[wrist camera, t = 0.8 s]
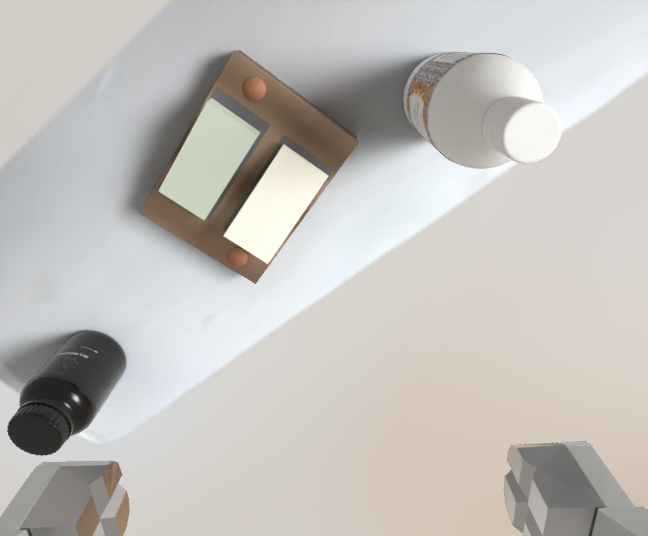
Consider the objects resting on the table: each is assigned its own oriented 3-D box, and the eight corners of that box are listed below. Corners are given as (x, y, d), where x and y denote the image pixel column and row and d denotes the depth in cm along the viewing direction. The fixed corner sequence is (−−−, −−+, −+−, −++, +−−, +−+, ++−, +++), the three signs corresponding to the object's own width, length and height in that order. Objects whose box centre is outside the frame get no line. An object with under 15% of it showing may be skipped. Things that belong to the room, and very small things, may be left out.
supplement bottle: (98, 318, 51) (36, 392, 40) (141, 364, 53) (92, 446, 42) (50, 346, 52) (-23, 425, 41) (94, 390, 55) (35, 475, 44)
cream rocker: (283, 143, 40) (283, 144, 39) (327, 174, 41) (328, 176, 40) (224, 233, 41) (223, 235, 40) (268, 260, 43) (268, 264, 41)
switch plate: (240, 50, 40) (231, 50, 37) (356, 136, 43) (358, 145, 39) (151, 202, 46) (136, 216, 42) (259, 270, 48) (254, 288, 45)
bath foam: (391, 70, 41) (443, 88, 22) (473, 38, 40) (596, 30, 21) (414, 148, 43) (477, 222, 25) (491, 121, 42) (614, 176, 24)
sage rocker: (211, 97, 37) (206, 101, 36) (260, 132, 38) (257, 137, 37) (163, 185, 41) (158, 191, 40) (208, 214, 42) (204, 220, 41)
